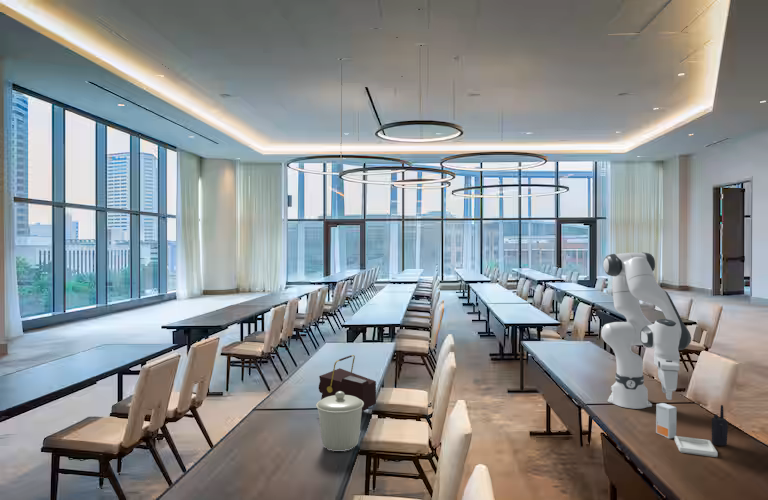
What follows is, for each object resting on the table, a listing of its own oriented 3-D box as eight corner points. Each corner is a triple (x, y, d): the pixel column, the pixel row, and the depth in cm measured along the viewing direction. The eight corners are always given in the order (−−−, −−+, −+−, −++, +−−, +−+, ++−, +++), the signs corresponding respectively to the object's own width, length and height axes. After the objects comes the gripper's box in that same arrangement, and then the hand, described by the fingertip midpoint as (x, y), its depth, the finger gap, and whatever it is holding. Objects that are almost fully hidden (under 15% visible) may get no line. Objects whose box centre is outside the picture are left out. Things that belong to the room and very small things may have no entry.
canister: (320, 459, 177) (320, 401, 176) (313, 440, 194) (312, 386, 193) (369, 453, 182) (369, 396, 181) (358, 434, 199) (357, 382, 199)
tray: (674, 440, 191) (674, 435, 191) (709, 444, 187) (709, 440, 187) (680, 452, 181) (680, 447, 180) (717, 457, 176) (717, 452, 176)
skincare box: (655, 433, 198) (655, 403, 198) (663, 431, 200) (663, 402, 200) (669, 439, 193) (669, 408, 192) (676, 437, 194) (677, 407, 194)
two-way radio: (723, 442, 189) (723, 403, 189) (731, 447, 184) (732, 407, 184) (709, 442, 189) (709, 403, 188) (717, 447, 184) (717, 407, 184)
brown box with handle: (338, 403, 238) (338, 351, 237) (379, 411, 226) (379, 357, 226) (317, 413, 224) (316, 358, 223) (359, 422, 212) (359, 364, 212)
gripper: (653, 355, 206) (654, 388, 206) (661, 366, 187) (661, 402, 187) (671, 356, 204) (671, 389, 204) (680, 367, 185) (680, 404, 185)
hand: (666, 395), depth 195 cm, fingers open, 8 cm apart
